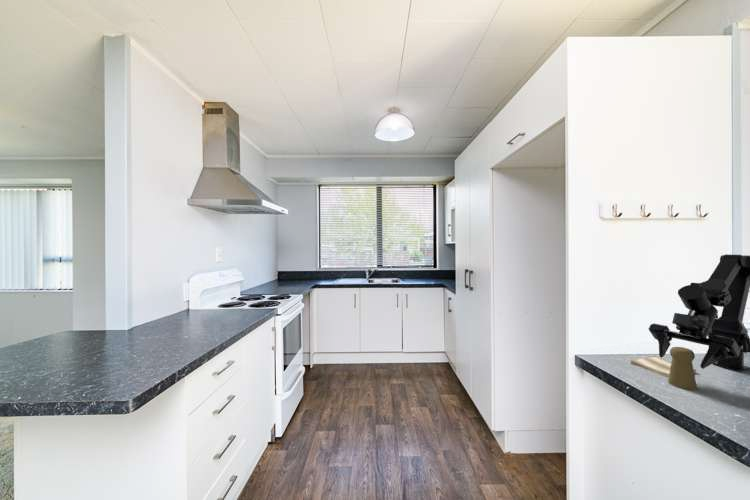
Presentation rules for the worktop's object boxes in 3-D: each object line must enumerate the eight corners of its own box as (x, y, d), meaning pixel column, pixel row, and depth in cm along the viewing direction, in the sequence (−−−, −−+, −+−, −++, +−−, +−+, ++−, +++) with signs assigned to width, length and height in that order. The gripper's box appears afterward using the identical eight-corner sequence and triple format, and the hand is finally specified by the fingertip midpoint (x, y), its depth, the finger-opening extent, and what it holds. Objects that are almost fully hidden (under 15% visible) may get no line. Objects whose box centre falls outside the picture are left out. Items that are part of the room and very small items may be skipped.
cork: (703, 390, 87) (702, 352, 86) (678, 389, 88) (677, 351, 88) (686, 381, 93) (685, 345, 92) (662, 379, 94) (662, 344, 94)
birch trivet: (655, 359, 109) (655, 356, 109) (695, 372, 98) (695, 369, 98) (630, 363, 107) (630, 360, 107) (669, 377, 95) (669, 374, 95)
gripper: (651, 298, 100) (631, 336, 96) (735, 309, 83) (715, 356, 79) (664, 319, 103) (646, 357, 99) (748, 334, 86) (730, 380, 82)
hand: (680, 361), depth 90 cm, fingers open, 9 cm apart
